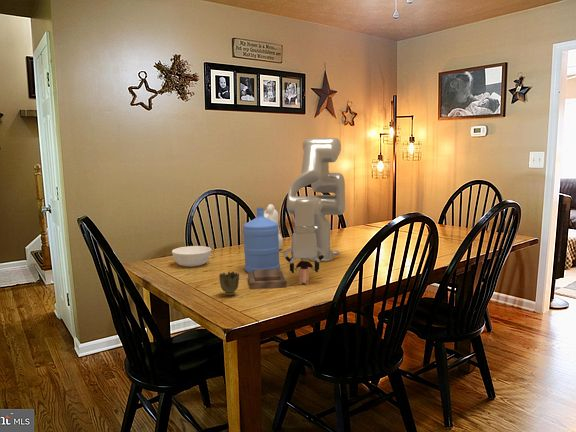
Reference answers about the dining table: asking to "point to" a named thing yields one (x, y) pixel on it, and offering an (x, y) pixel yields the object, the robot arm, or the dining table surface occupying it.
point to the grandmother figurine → (304, 271)
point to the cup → (229, 283)
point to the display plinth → (267, 283)
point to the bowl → (191, 255)
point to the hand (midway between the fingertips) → (304, 272)
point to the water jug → (261, 243)
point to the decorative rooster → (273, 219)
